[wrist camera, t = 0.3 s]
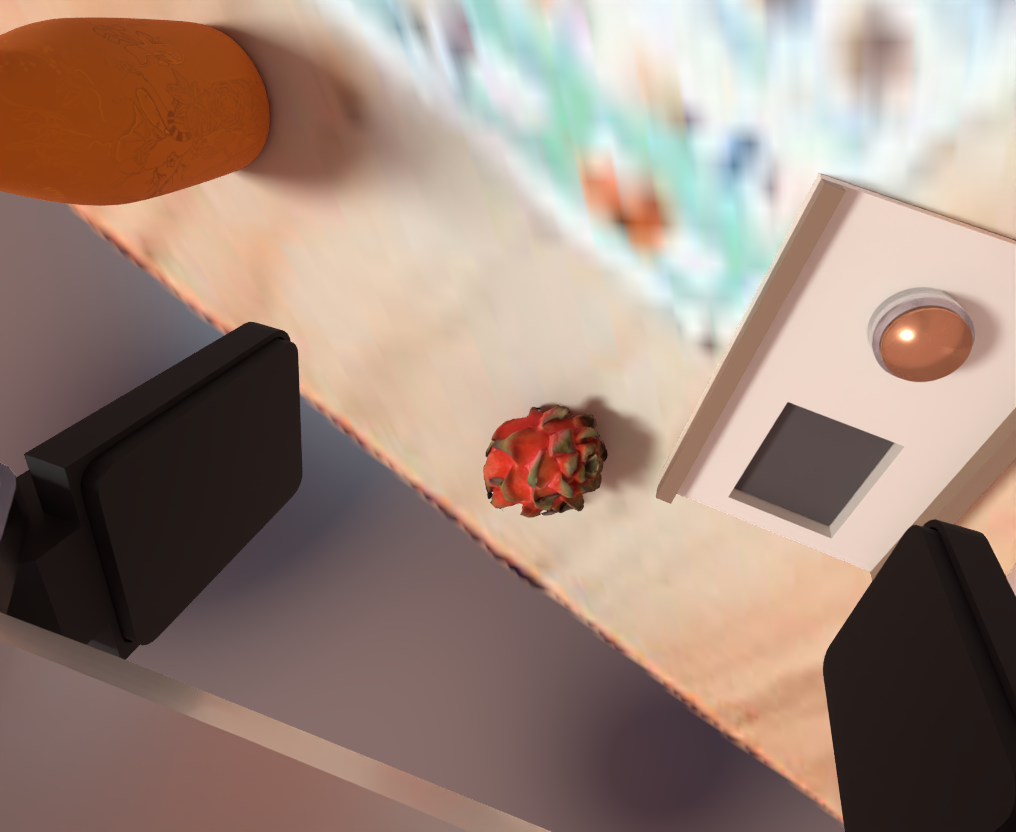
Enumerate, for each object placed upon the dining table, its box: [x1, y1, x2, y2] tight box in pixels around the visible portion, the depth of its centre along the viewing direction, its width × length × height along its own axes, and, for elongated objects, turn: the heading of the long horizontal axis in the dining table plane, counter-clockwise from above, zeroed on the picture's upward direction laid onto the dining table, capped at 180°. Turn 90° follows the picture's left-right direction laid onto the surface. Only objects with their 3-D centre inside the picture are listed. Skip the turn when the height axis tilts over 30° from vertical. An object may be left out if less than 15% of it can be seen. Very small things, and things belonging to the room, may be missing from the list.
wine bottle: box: [0, 18, 270, 206], centre depth 34 cm, size 10×10×30 cm
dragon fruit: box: [484, 405, 608, 517], centre depth 50 cm, size 8×8×12 cm
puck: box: [867, 287, 975, 382], centre depth 37 cm, size 5×5×3 cm
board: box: [656, 174, 1016, 581], centre depth 42 cm, size 24×18×3 cm
